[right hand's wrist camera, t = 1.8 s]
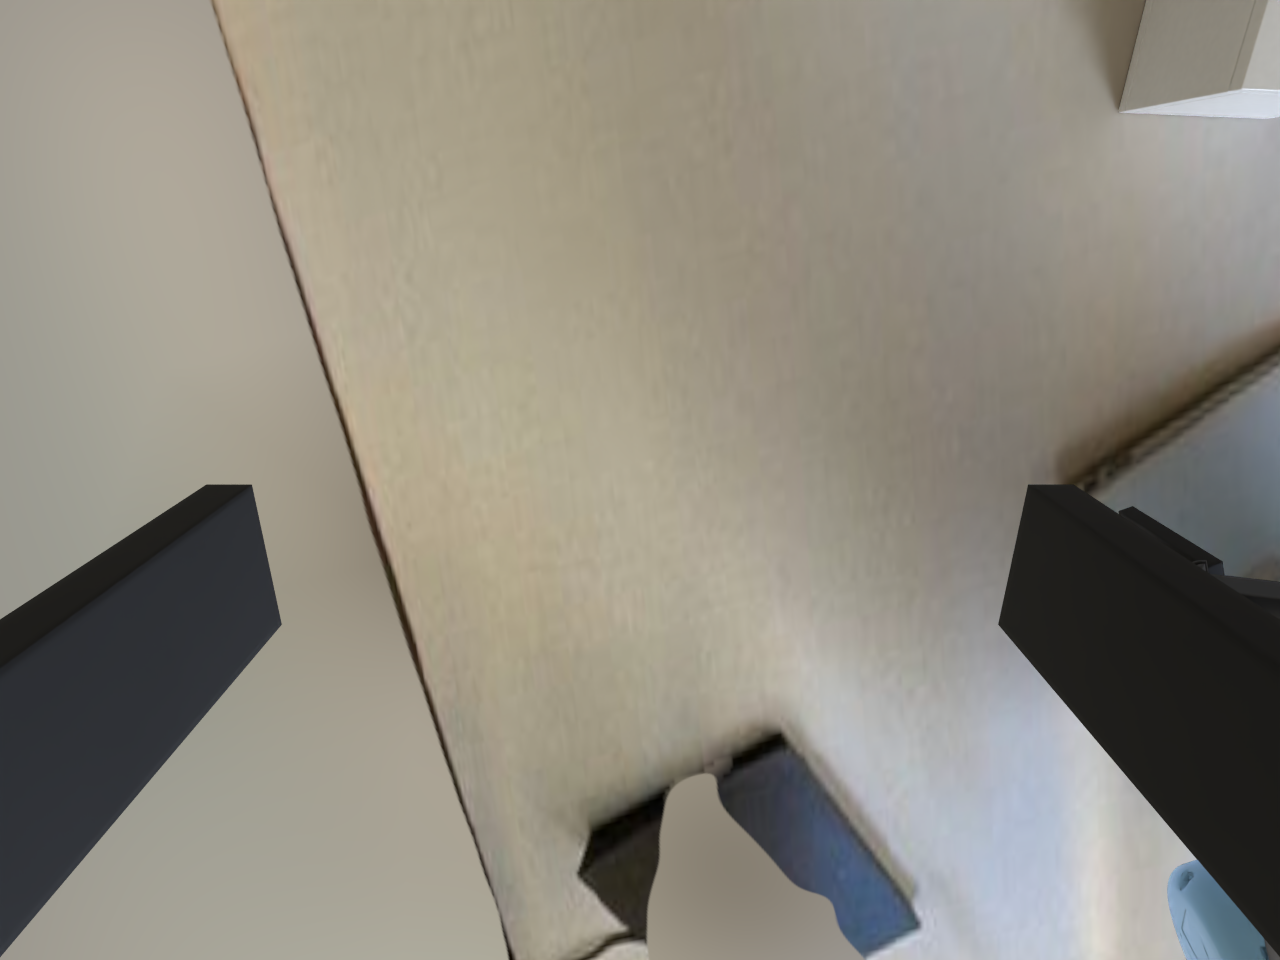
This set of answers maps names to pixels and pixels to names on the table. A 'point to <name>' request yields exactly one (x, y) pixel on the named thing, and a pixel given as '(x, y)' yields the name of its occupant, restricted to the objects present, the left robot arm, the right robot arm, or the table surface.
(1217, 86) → the chest
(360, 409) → the table surface
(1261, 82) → the lid
